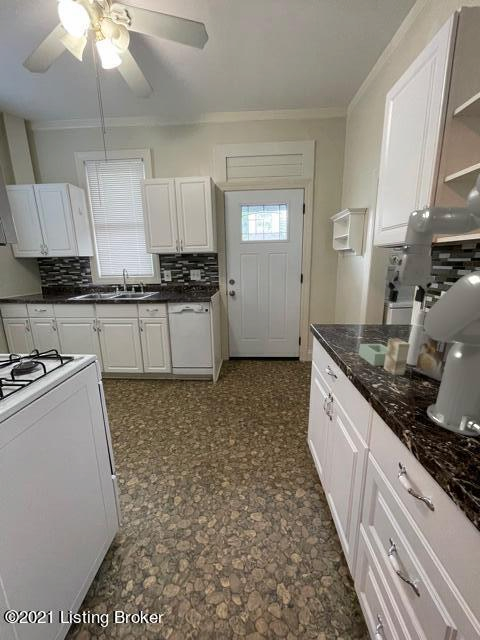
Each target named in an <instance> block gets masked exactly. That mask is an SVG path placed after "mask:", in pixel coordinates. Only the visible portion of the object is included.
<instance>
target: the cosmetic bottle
mask: <svg viewBox="0 0 480 640" xmlns="http://www.w3.org/2000/svg"><path fill="white" fill-rule="evenodd" d="M425 317H426V313H425V309H417V311H416V313H415V320H414V323H413V324H412V326H411V330H410V335H409V338H408V342H407V343H409V344H410V346H409V351H408V357H407V362H406V365H407V364H408V365H410V366H417V360H418V355H419V350H420V345H421V339H422V334H423V331H424V330H425V329H424V320H425Z"/></svg>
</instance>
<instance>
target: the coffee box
mask: <svg viewBox="0 0 480 640" xmlns="http://www.w3.org/2000/svg"><path fill="white" fill-rule="evenodd" d="M454 344H455V343H447V342H439V341H436V340H434V339H432V338H430V337H429V336H428V335H427V333H426V332H425V330H423V334H422V339H421V345H420V350H419V355H418V360H417V365H415V366H416V367H415V371H416V372H417V373H420V374H423V375H425V376H427V377H429V378H432V379H434V380H436V381H439V382H441V381H442V376H443V372H444V368H445V363H446V359H447V355H448V353H449V351H450V349H451V348H452V346H453V345H454Z"/></svg>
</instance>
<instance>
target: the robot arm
mask: <svg viewBox="0 0 480 640" xmlns="http://www.w3.org/2000/svg"><path fill="white" fill-rule="evenodd" d="M477 230H480V172H479V174H478V175H477V179H476V183H475V186H474V187H472V189H471V190H470V191H469V194H468V195H467V198H466V206H429V207H426V208H424V209H420V210H419V209H417V210H415V211H412V212H411V213H410V215H409V218H408V221H407V228H406V232H405V233H406V234H405V237H404V243H403V246H401V247H400V248H399V249H400V251H401V252H402V253H401V254H400V255H399V257H398V260H397V262H396V266H395V269H394V271H393V273H391V274H389V275H387V276H385V278H384V279H385V283H386V286H387V287H388V289H389V290H390V291H389V295H388V301H390V302H393V303H397V301H398V295H399V291H398V290H399V288H400V287H401V286H406V287H417V288H418V289H416V291H415V296H414V301H415V302H418V303H423V302H424V298H425V294H426V292H427V291H428V290H429V288H430V287H432V286H433V283H434V282H435V280H436V277H435V276H433V275H432V274H431V272H432V255H430V253H431V247H432V243H433V238H434V235H453V236H454V235H455V236H456V235H464V234H466V233H467V234H468V233H470V232H474V231H477ZM423 325H424V329H423V330H424V331H425V332H426V333H427V335H428V336H429V337H430V338H432V339H434V340H436V341H439V342H447V343H455V344H454V345H453V346H452V348H451V349H450V351H449V353H448V355H447V359H446V363H445V368H444V372H443V376H442V380H441V381H440V386H439V390H438V394H437V398H436V402H435V404H431V405H429V406H428V407H427V410H426V413H427V417H429V418H430V419H431V420H432V421H433V422H434V423H435V424H437V425H439V426H440V427H442V428H444V429H446V430H449V431H452V432H455V433H456V434H457V433H458V434H461V435H464V436H469V437H472V436H473V437H479V436H478V435H480V270H476V271H472V272H469V273H467V274H465V275H463V276H462V277H460V278H459V279H458V280H456V281H455V283H454V284H452V286H450V288H449V289H448V290H446V292H445V293H444V294H443V295H441V297H440V298H438V300H437V301H435V303H434V304H433V305H432V306H431V307H430V308H429V310H428V311H427V312H426V313H425V316H424V321H423Z"/></svg>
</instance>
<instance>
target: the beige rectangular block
mask: <svg viewBox="0 0 480 640" xmlns="http://www.w3.org/2000/svg"><path fill="white" fill-rule="evenodd" d="M409 346H410V344H409V343H408V342H407V341H405V340H403V339H400V338H388V342H387V345H386V347H387V351H386V357H385V363H384V366H383V370H385V371H387V372H388V373H389V374H391V375H392V376H404V375H405V373H406V372H405V371H406V368H407V367H406V365H407V363H406V362H407V357H408V351H409Z"/></svg>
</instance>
